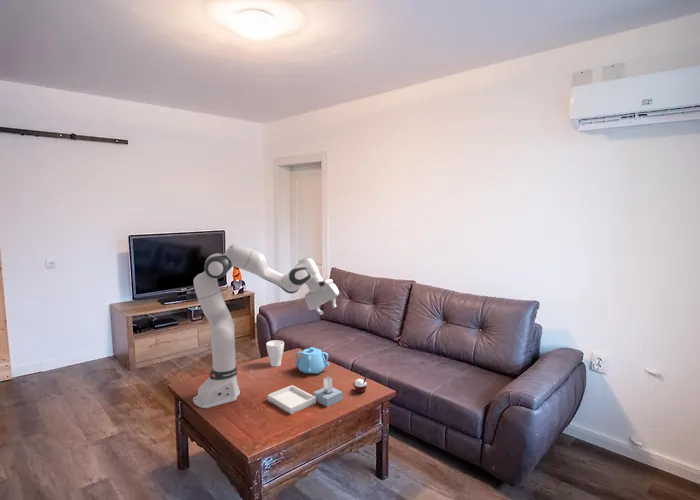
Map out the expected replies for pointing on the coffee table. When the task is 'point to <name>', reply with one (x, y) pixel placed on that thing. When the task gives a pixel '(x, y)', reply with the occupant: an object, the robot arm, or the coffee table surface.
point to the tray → (291, 399)
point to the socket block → (328, 396)
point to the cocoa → (361, 384)
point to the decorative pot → (311, 361)
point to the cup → (275, 352)
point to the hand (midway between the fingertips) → (328, 311)
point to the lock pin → (327, 385)
